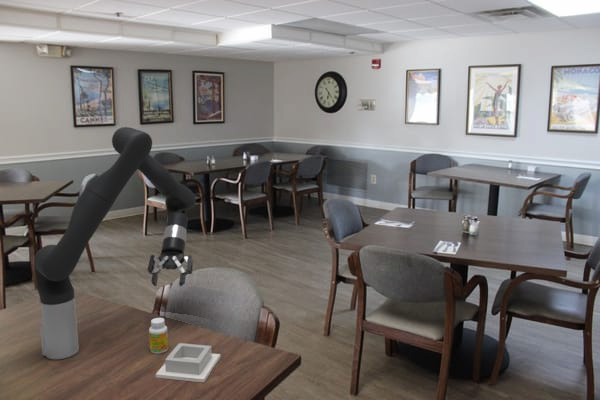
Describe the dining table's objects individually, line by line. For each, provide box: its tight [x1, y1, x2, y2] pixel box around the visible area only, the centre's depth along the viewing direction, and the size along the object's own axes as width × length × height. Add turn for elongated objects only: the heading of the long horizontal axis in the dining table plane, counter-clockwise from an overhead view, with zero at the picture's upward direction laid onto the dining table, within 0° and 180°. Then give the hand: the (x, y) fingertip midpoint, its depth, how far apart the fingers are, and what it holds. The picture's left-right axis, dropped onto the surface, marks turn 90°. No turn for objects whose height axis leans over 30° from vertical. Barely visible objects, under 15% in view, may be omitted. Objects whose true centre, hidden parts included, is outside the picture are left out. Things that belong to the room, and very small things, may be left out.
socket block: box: [155, 342, 221, 383], centre depth 146 cm, size 14×14×4 cm
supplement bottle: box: [148, 317, 169, 355], centre depth 155 cm, size 5×5×10 cm
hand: (167, 285), depth 165 cm, fingers open, 8 cm apart
